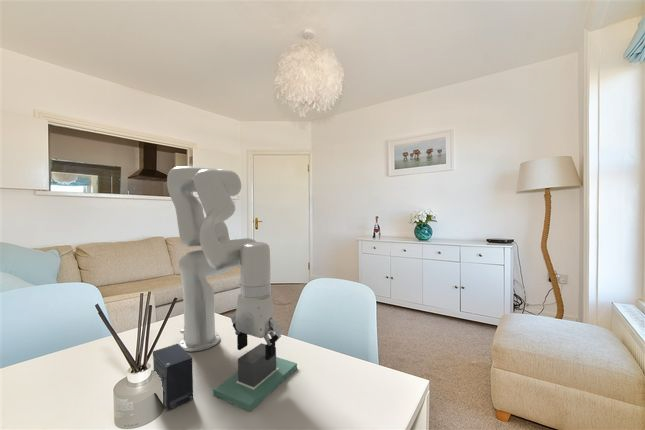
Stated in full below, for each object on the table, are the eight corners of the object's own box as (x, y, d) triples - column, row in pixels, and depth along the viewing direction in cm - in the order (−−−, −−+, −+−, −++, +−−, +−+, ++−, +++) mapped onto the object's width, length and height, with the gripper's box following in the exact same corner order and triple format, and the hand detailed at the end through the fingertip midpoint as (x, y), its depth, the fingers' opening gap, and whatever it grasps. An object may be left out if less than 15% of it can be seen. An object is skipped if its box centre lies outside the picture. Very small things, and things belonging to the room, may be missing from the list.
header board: (213, 395, 70) (213, 388, 70) (264, 357, 87) (264, 352, 87) (250, 411, 65) (249, 404, 64) (297, 368, 81) (296, 362, 81)
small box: (195, 398, 69) (194, 356, 69) (166, 412, 65) (164, 367, 64) (180, 380, 77) (178, 341, 76) (152, 391, 72) (151, 351, 72)
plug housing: (238, 381, 73) (237, 358, 73) (261, 363, 81) (261, 343, 81) (253, 387, 70) (253, 363, 70) (276, 368, 78) (275, 347, 78)
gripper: (221, 288, 76) (222, 350, 77) (272, 299, 67) (272, 369, 68) (241, 281, 82) (242, 338, 83) (290, 290, 74) (290, 354, 75)
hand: (256, 352), depth 76 cm, fingers open, 9 cm apart
